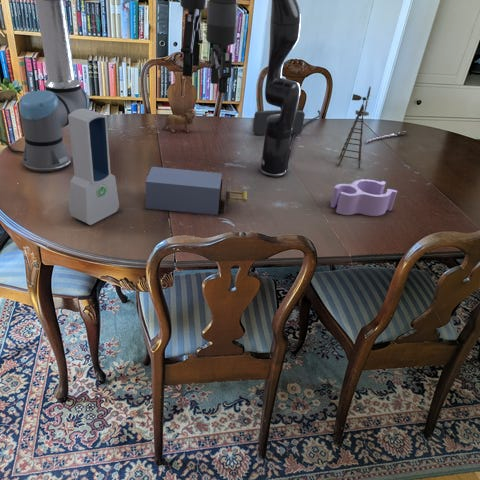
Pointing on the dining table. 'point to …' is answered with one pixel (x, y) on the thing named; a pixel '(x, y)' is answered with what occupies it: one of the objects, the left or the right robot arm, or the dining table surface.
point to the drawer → (227, 197)
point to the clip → (363, 198)
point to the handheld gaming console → (262, 116)
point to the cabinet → (183, 190)
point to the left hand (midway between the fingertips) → (191, 70)
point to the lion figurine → (181, 120)
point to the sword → (384, 137)
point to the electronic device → (91, 168)
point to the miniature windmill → (359, 113)
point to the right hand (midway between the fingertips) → (218, 87)
